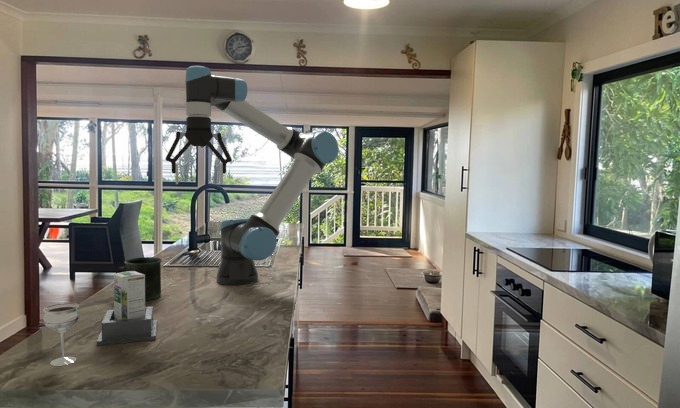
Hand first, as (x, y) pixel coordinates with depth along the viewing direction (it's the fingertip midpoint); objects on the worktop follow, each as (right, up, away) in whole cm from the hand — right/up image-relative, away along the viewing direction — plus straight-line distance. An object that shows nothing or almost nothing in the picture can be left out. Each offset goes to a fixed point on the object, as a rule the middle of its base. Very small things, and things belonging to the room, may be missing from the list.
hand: (199, 184), depth 152 cm
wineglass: (-15, -41, -48) cm, 65 cm away
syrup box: (-8, -39, -31) cm, 50 cm away
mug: (-20, -37, +2) cm, 42 cm away
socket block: (-9, -39, -31) cm, 51 cm away
